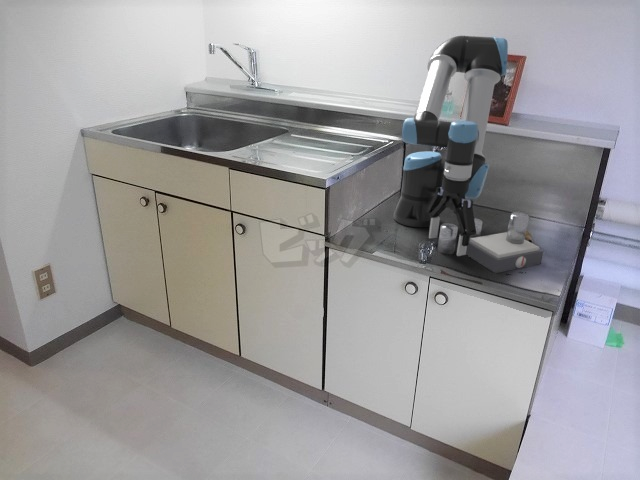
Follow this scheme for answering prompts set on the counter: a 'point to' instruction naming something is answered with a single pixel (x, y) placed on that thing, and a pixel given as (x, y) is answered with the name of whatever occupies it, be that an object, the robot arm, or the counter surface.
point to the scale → (503, 253)
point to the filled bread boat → (528, 237)
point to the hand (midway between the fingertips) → (446, 246)
